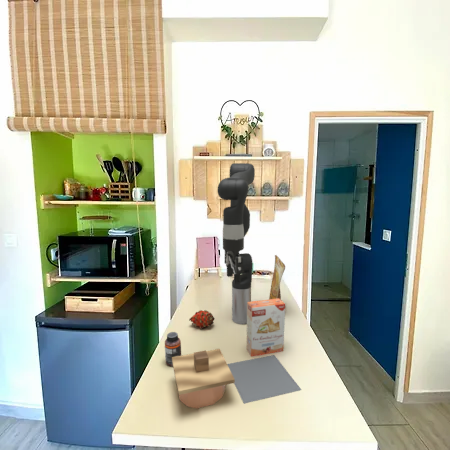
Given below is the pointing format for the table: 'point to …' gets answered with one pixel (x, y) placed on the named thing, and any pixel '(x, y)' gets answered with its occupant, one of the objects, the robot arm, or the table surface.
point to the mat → (261, 378)
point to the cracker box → (265, 326)
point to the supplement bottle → (172, 347)
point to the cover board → (201, 371)
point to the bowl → (202, 397)
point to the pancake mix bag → (277, 279)
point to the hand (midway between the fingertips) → (233, 280)
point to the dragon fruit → (202, 319)
